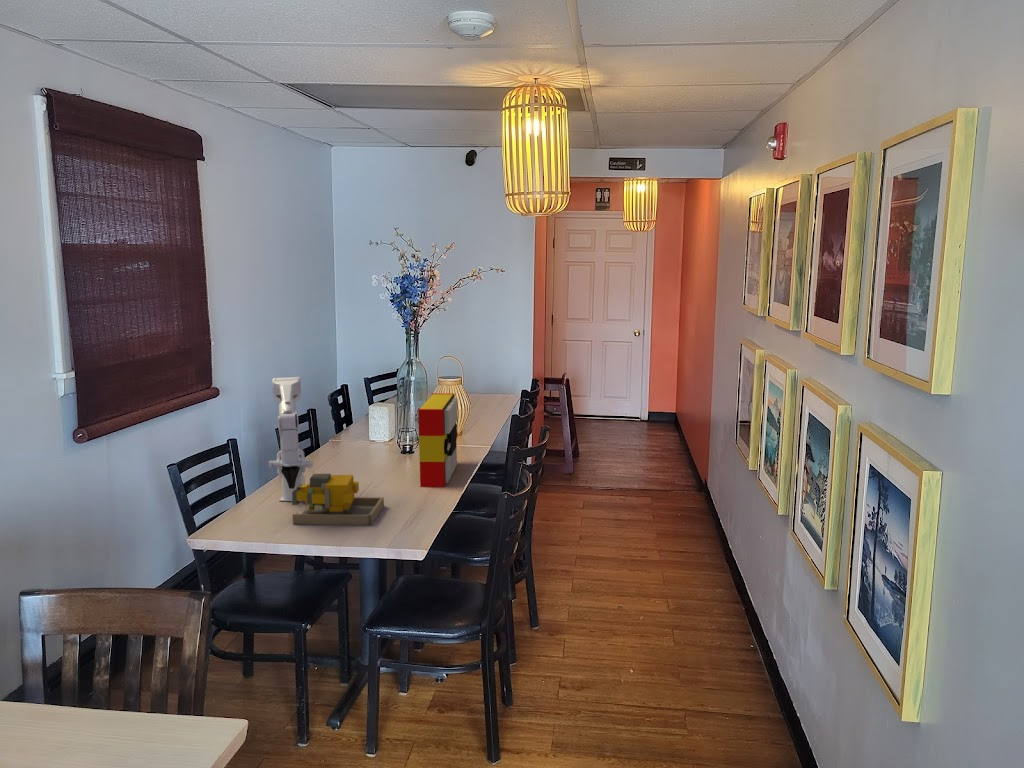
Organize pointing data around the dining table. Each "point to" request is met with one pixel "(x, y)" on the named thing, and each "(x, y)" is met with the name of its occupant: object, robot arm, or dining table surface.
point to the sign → (437, 439)
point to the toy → (328, 493)
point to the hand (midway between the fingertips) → (292, 487)
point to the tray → (358, 515)
